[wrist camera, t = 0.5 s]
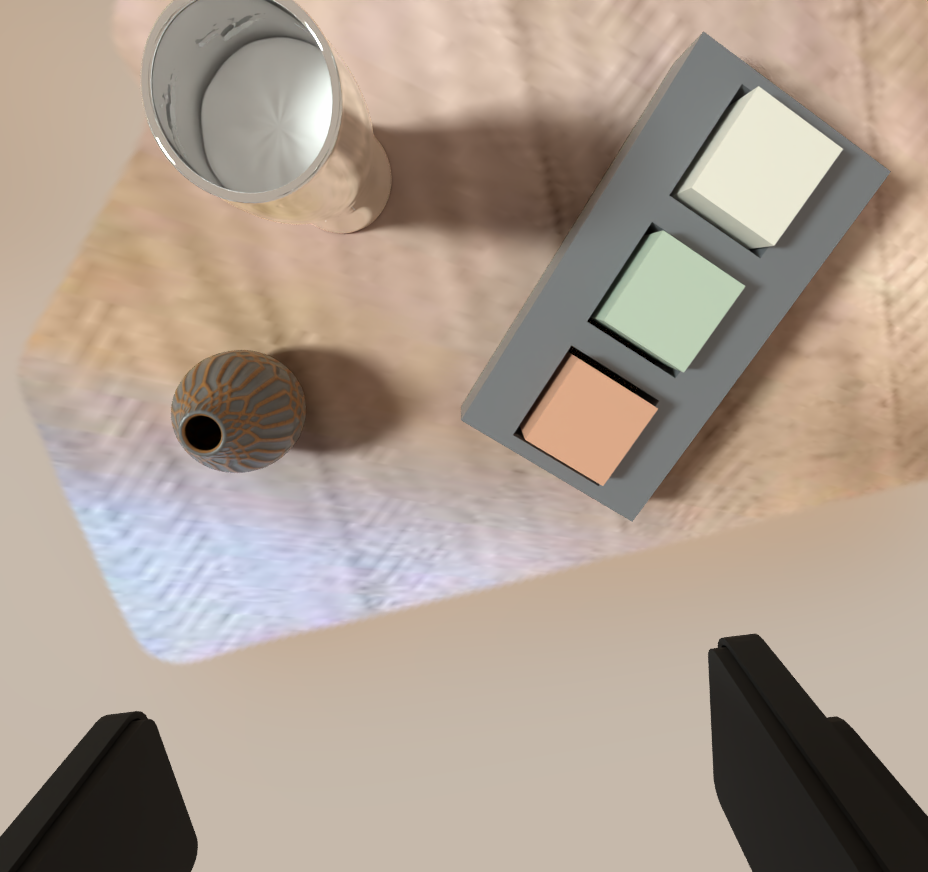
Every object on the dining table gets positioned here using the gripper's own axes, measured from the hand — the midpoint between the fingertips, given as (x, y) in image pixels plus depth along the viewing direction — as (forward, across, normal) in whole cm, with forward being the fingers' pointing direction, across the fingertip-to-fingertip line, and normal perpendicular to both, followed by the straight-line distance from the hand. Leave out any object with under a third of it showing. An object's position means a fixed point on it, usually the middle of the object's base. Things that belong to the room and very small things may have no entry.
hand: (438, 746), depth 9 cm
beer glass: (+28, +5, -14) cm, 32 cm away
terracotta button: (+26, -7, +1) cm, 27 cm away
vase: (+28, +12, -2) cm, 31 cm away
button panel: (+28, -12, -4) cm, 31 cm away
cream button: (+27, -17, -10) cm, 33 cm away
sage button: (+26, -12, -4) cm, 29 cm away
